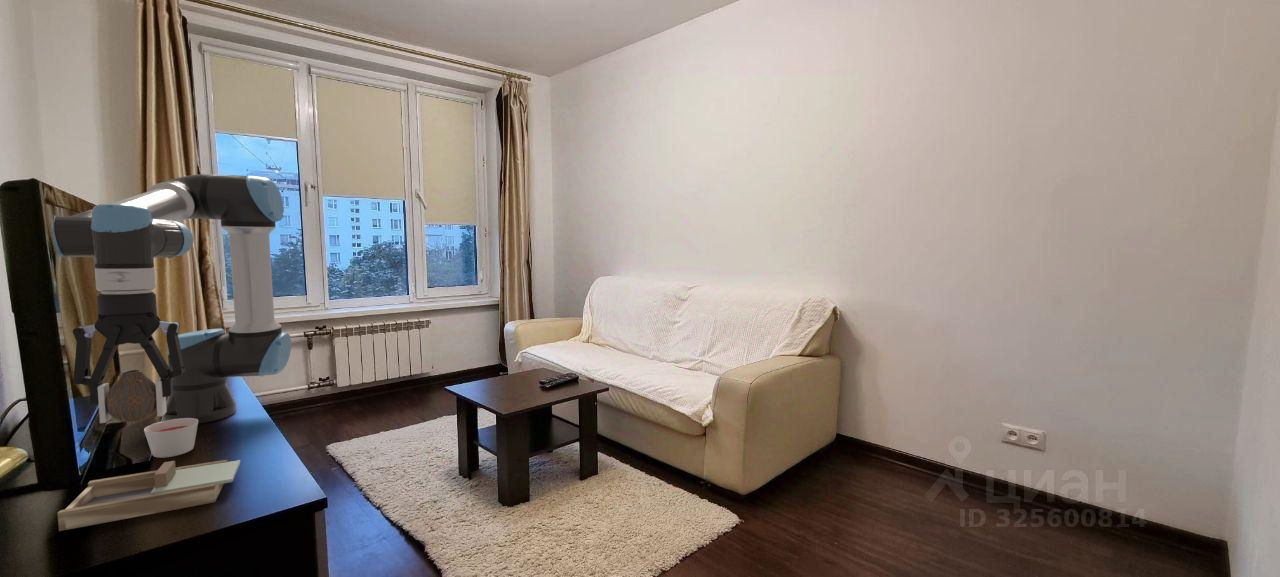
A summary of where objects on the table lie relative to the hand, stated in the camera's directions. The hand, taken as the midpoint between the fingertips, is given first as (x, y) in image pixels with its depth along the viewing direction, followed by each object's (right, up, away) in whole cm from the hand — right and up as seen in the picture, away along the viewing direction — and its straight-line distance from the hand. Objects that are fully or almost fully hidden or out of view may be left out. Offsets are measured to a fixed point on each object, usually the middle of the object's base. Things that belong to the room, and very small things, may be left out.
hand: (134, 417), depth 94 cm
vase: (0, 0, 0) cm, 1 cm away
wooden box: (+2, -15, +1) cm, 16 cm away
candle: (-13, -14, +22) cm, 29 cm away
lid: (+8, -13, +4) cm, 16 cm away
